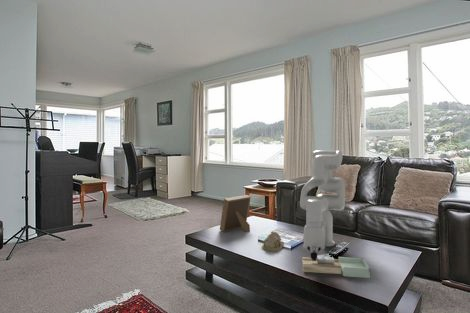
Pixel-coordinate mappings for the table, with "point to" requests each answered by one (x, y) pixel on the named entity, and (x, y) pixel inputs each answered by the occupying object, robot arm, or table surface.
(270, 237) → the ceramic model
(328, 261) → the chip
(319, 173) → the robot arm
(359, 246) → the table surface
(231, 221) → the photo frame
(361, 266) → the tray
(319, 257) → the chip
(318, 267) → the slot rail
